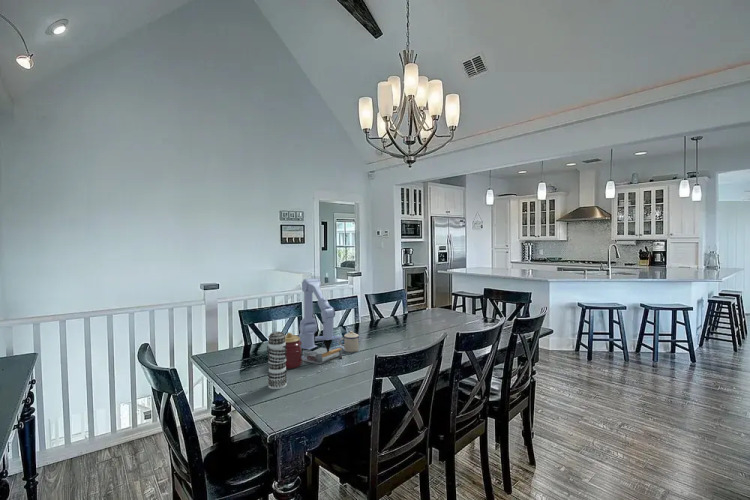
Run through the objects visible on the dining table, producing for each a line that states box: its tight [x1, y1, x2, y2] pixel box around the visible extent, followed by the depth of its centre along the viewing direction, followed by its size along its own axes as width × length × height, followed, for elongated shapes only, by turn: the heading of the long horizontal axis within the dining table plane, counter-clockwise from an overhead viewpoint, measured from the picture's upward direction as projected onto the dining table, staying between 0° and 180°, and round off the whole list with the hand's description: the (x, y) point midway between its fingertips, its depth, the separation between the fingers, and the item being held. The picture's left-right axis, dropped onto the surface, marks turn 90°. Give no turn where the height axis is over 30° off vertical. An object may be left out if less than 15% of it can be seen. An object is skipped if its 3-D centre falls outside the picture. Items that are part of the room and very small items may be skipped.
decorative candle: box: [266, 331, 288, 390], centre depth 179 cm, size 9×9×25 cm
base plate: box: [302, 347, 343, 365], centre depth 219 cm, size 21×22×4 cm
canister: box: [285, 332, 303, 369], centre depth 207 cm, size 13×13×18 cm
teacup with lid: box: [338, 330, 360, 353], centre depth 232 cm, size 12×9×12 cm
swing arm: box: [316, 346, 344, 362], centre depth 215 cm, size 20×3×4 cm, turn 140°
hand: (328, 352), depth 216 cm, fingers closed, pressing on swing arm
